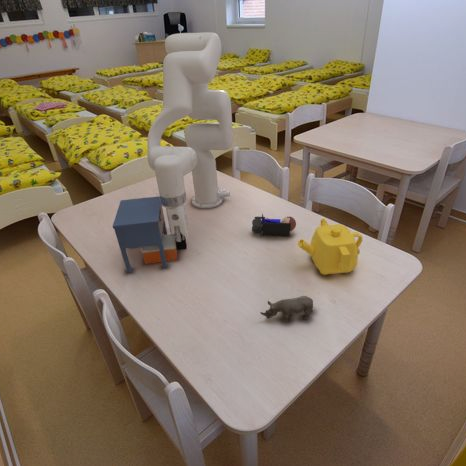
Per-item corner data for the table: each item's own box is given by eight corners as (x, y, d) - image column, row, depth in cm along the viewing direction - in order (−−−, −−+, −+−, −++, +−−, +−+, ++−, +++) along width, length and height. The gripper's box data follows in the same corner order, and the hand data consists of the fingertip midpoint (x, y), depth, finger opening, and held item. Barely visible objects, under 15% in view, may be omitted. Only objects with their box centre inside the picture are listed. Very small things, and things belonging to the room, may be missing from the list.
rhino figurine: (258, 314, 86) (258, 297, 83) (311, 307, 87) (312, 290, 84) (261, 326, 83) (261, 309, 79) (316, 319, 84) (318, 302, 80)
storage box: (177, 246, 113) (175, 233, 110) (177, 260, 106) (175, 247, 103) (146, 249, 112) (143, 237, 109) (144, 264, 105) (141, 251, 102)
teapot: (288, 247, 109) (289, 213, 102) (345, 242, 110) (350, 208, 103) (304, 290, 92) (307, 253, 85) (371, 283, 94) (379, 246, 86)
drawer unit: (169, 240, 116) (160, 196, 106) (167, 268, 103) (157, 221, 94) (132, 244, 115) (120, 200, 105) (126, 273, 102) (112, 226, 92)
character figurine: (252, 228, 120) (295, 231, 118) (250, 239, 114) (295, 241, 111) (252, 209, 116) (296, 210, 114) (250, 218, 110) (296, 220, 108)
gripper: (186, 208, 93) (194, 261, 103) (185, 185, 105) (192, 234, 115) (159, 211, 92) (169, 264, 102) (161, 188, 104) (170, 236, 115)
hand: (181, 248), depth 109 cm, fingers closed
